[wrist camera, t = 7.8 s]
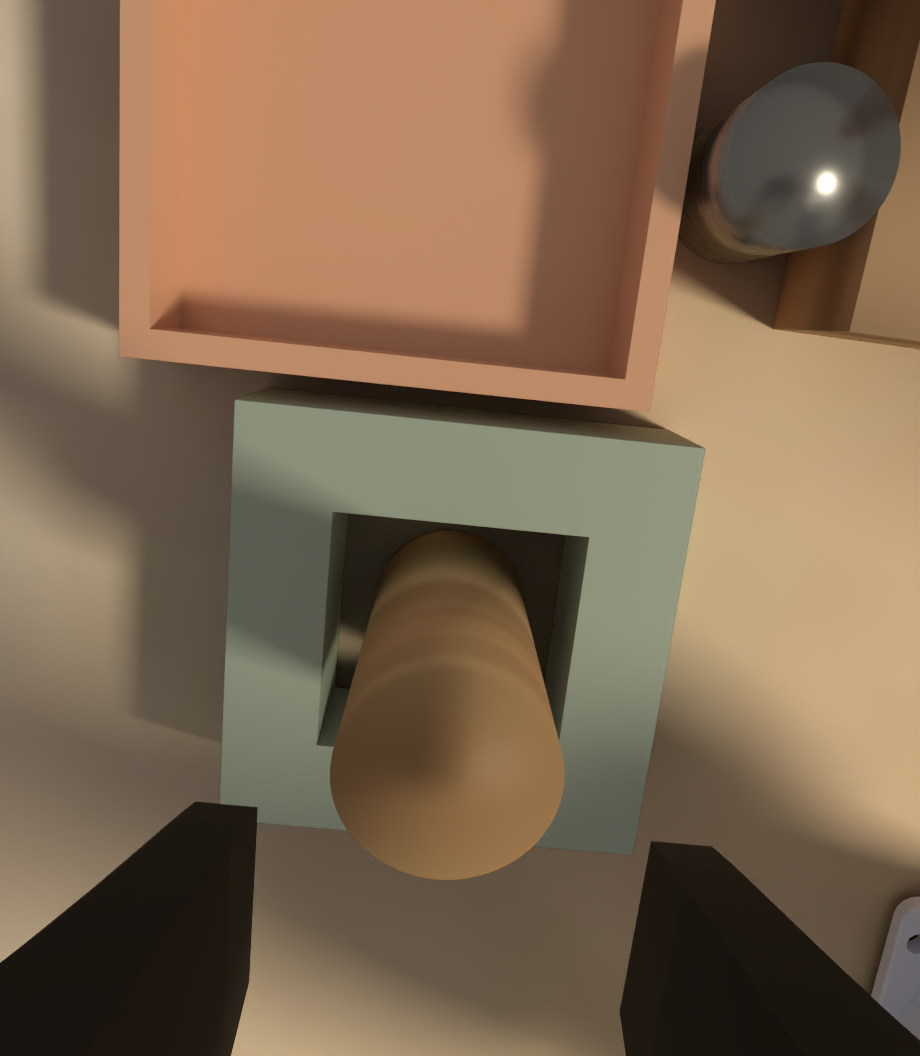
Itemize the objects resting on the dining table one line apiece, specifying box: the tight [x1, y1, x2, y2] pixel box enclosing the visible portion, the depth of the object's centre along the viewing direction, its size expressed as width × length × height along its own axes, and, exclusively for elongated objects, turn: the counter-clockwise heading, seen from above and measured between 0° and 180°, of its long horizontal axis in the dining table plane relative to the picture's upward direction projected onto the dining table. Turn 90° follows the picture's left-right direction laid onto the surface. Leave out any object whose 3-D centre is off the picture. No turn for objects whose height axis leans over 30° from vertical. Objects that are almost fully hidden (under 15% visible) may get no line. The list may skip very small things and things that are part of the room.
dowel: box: [330, 530, 565, 880], centre depth 14 cm, size 3×3×7 cm
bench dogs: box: [678, 62, 901, 263], centre depth 13 cm, size 8×2×4 cm, turn 174°
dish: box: [119, 0, 716, 412], centre depth 14 cm, size 9×9×2 cm
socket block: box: [220, 388, 705, 855], centre depth 16 cm, size 8×8×2 cm
